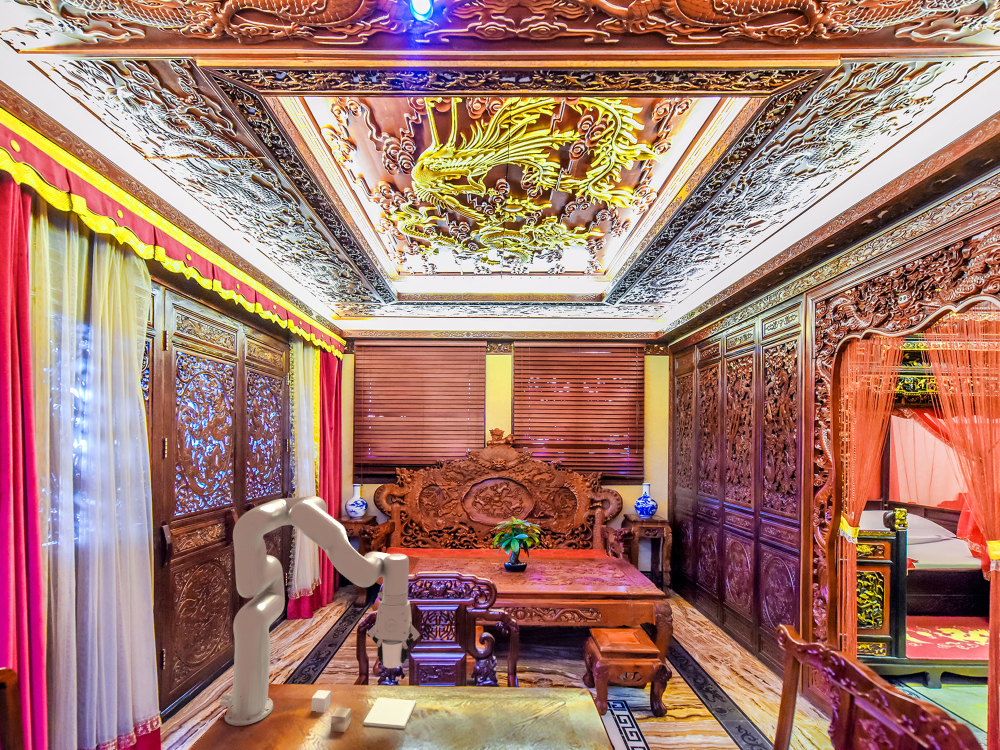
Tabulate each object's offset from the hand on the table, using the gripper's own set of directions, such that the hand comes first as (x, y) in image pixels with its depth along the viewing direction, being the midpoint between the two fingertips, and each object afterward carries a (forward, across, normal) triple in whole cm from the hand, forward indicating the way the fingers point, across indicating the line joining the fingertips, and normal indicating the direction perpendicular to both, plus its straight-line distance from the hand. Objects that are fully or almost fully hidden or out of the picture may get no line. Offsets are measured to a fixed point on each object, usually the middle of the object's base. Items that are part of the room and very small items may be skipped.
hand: (392, 659), depth 142 cm
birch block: (+15, -12, -8) cm, 21 cm away
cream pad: (+15, 0, 0) cm, 15 cm away
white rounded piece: (+1, 0, 0) cm, 1 cm away
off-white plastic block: (+15, -22, 0) cm, 26 cm away
